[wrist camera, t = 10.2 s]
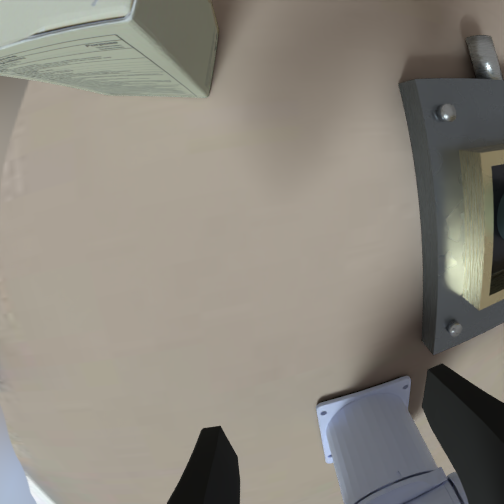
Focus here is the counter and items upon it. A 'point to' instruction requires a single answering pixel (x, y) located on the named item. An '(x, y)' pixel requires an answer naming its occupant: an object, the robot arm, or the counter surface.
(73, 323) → the counter surface
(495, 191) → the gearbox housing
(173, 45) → the skincare box
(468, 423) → the robot arm
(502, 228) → the spout can
